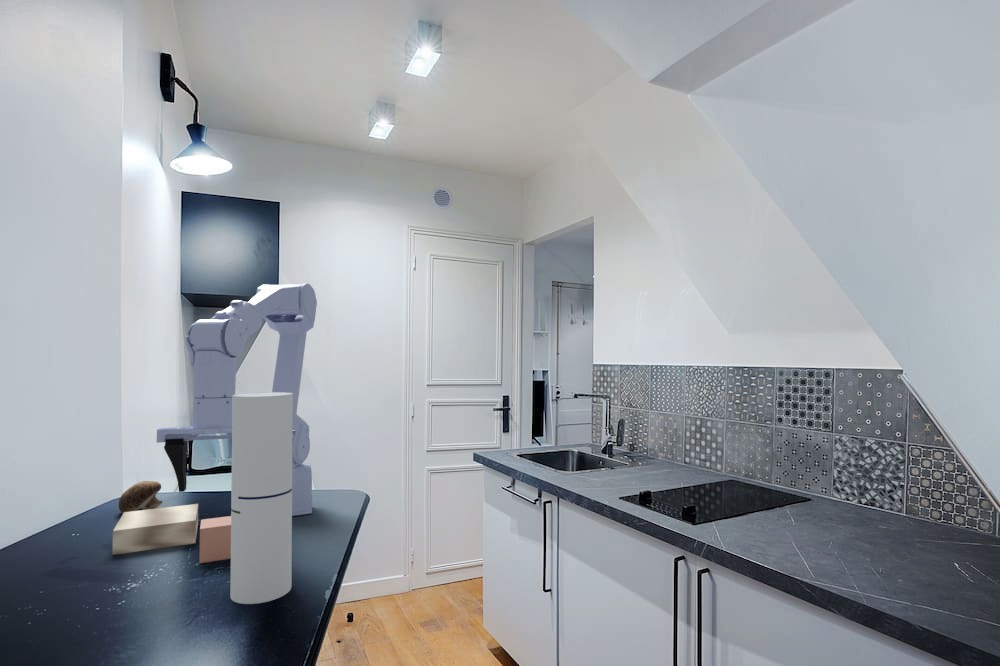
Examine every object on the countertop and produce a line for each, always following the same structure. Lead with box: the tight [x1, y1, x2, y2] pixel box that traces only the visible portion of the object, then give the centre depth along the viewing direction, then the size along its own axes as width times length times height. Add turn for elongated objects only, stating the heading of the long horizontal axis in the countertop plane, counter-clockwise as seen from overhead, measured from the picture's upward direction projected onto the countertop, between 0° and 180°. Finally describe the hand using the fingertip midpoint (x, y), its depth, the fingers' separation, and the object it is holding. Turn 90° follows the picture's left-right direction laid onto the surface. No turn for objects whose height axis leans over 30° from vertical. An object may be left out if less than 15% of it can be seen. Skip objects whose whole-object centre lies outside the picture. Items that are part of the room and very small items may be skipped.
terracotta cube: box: [199, 515, 231, 564], centre depth 83 cm, size 5×5×5 cm
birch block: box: [111, 503, 199, 556], centre depth 91 cm, size 11×11×4 cm
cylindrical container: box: [229, 391, 293, 605], centre depth 70 cm, size 7×7×25 cm
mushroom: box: [118, 480, 163, 514], centre depth 106 cm, size 8×8×6 cm
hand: (211, 488), depth 83 cm, fingers open, 7 cm apart
